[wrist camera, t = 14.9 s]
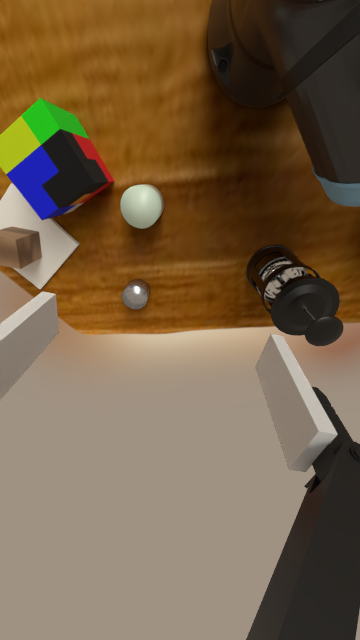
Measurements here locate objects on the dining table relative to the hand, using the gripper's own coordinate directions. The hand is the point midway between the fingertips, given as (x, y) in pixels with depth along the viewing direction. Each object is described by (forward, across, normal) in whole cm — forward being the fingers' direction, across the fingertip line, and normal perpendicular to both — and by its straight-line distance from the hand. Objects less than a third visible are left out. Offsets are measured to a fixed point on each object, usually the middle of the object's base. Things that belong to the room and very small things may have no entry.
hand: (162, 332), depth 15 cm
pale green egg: (+35, -7, +3) cm, 36 cm away
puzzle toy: (+35, -20, +6) cm, 41 cm away
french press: (+35, +19, -4) cm, 40 cm away
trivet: (+35, -29, -8) cm, 46 cm away
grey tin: (+35, -7, -14) cm, 38 cm away
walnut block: (+34, -29, -8) cm, 45 cm away
